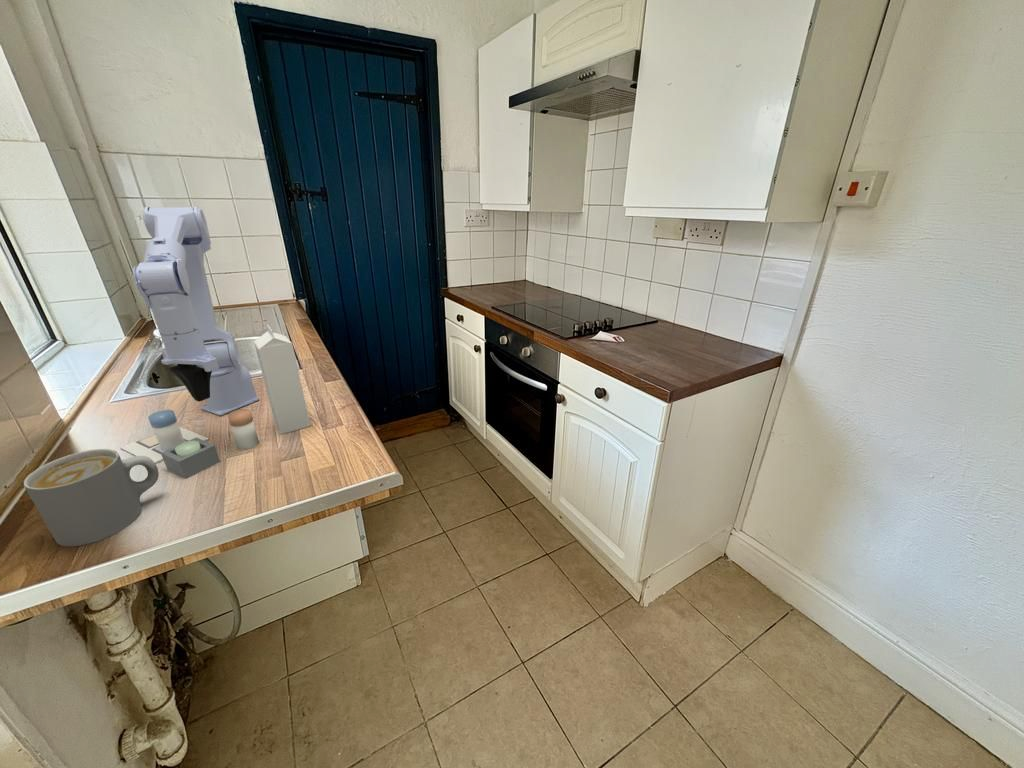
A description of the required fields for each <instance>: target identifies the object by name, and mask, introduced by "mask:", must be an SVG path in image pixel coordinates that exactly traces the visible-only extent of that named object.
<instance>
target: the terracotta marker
mask: <svg viewBox="0 0 1024 768" xmlns="http://www.w3.org/2000/svg"><path fill="white" fill-rule="evenodd" d="M253 418H254V417H253V414H252V411H251V409H248V408H241V409H240V408H238V409H236V410H233V411H231V412H228V413H227V420H228V423H229V426H230V429H231V432H232V435H233V439H234V442H235V445H236V448H237V450H242V451H244V450H249V449H253V448H254V447H257V446H258V445H259V438H258V434H257V430H256V426H255V423H254V419H253Z"/></svg>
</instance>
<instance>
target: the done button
mask: <svg viewBox="0 0 1024 768" xmlns="http://www.w3.org/2000/svg"><path fill="white" fill-rule="evenodd" d="M200 449H201V447H200V444H199V442H198V441H187V442H184V443H181V444H179V445H178V446H176V447H175V451H176V454H177V456H179V457H181V458H183V457H185V456H187V455H189V454H191V453H194V452H196V451H198V450H200Z"/></svg>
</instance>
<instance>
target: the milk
mask: <svg viewBox="0 0 1024 768" xmlns="http://www.w3.org/2000/svg"><path fill="white" fill-rule="evenodd" d="M266 328H267V331H266V332H265V333H263V334H262V335H261V336H259V337H258V338H257V339H256V340H254V341H253V343H254V346H255V352H256V355H257V359H258V362H259V366H260V370H261V374H262V378H263V382H264V386H265V390H266V393H267V397H268V401H269V404H270V409H271V412H272V415H273V420H274V423H275V425H276V428H277V430H278V431H279V434H280V435H284V434H288V433H291V432H294V431H295V432H296V431H299V430H302V429H305V428H309V427H311V421H310V417H309V412H308V407H307V403H306V399H305V394H304V391H303V390H304V389H303V386H302V381H301V375H300V373H299V368H298V364H297V357H296V354H295V350H294V345H293V342H292V341H290V339H289V338H288V337H287V335H283V334H280V333H276V332H274V331H273V330H272V328H271V326H270V325H269V324H266Z"/></svg>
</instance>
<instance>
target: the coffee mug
mask: <svg viewBox="0 0 1024 768" xmlns="http://www.w3.org/2000/svg"><path fill="white" fill-rule="evenodd" d="M135 466H142V467H144V468H145V469H146V471H147V476H146V477H145V479H143V480H141V481H136V480H134V479H133V478H132V477H131V474H130V473H131V470H132V468H134V467H135ZM159 475H160V474H159V469H158V466H157V463H156V464H155V463H154V461H153V460H152V459H150V458H149V457H146V456H130V457H127V458H124V459H122V458H121V456H120V454H119V453H118V452H117V451H116V450H115V449H111V448H96V449H90V450H83V451H80V452H75V453H72V454H68V455H66V456H63V457H60V458H56V459H54V460H52V461H50V462H47V463H46V464H43V465H41V466H39V467H38V468H36V469H35V470H33V471H32V472H31V473H29V474H28V475H27V476H26V478H25V479H24V480H23V487H24V488H25V490H26V492H27V494H28V495H29V497H30V500H32V502H33V504H34V506H35V507H36V510H37V511H38V512H39V516H41V518H42V520H43V521H44V523H45V525H46V526H47V528H48V530H49V532H50V534H51V535H52V537H53V539H54V541H55V542H56V543H57V544H58V545H59V546H63V547H78V546H84V545H89V544H94V543H96V542H99V541H101V540H105V539H106V538H109V537H111V536H113V535H116V534H117V533H119V532H121V531H122V530H125V529H126V528H127V527H129V526H130V525H132V523H134V522H135V521H136V520H137V519H138V518H139V517H140V515H142V512H143V506H142V503H141V501H140V500H141V499H140V498H141V497H142V495H143V494H144V493H145V492H147V491H148V490H149V489H150V488H152V487H153V486H154V485H155V484H156V483H157V482H158V479H159Z"/></svg>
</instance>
